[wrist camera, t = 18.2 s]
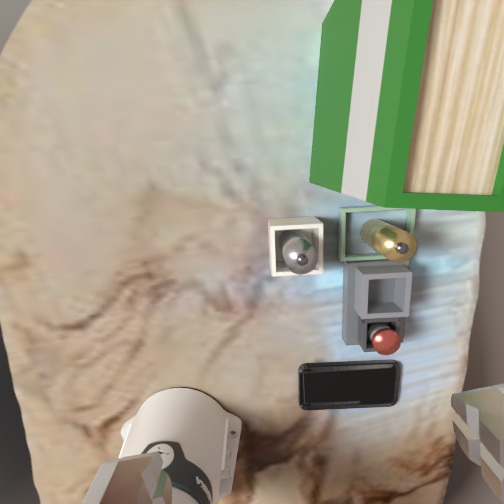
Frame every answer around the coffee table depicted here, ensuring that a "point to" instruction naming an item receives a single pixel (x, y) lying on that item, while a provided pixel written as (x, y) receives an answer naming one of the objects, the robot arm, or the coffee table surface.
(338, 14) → the hardback book
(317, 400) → the phone
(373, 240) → the cell
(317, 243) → the white square bin
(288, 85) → the coffee table surface
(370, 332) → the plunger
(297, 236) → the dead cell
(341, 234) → the pale green rectangular frame
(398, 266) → the grey socket holder
